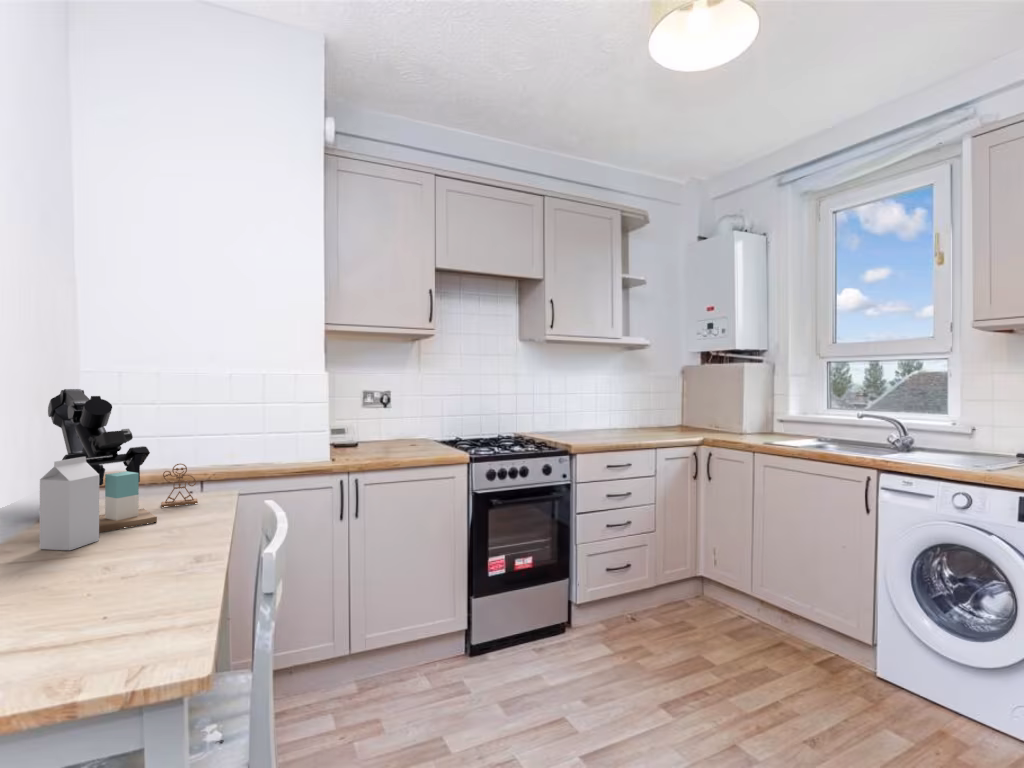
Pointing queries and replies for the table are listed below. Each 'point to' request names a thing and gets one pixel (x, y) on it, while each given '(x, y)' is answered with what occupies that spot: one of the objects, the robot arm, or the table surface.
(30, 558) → the table surface
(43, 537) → the milk carton
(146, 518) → the board
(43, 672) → the table surface
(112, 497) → the block
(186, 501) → the gingerbread man figurine
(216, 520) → the table surface
